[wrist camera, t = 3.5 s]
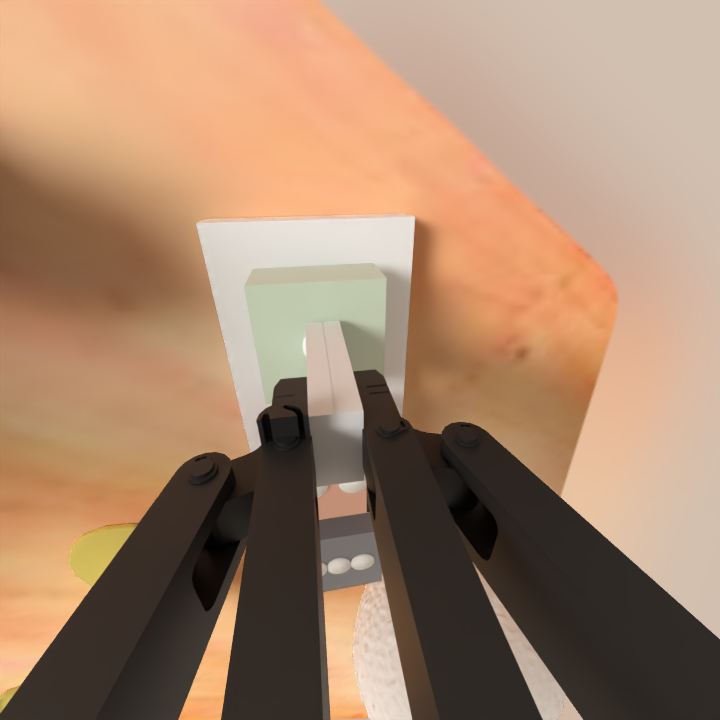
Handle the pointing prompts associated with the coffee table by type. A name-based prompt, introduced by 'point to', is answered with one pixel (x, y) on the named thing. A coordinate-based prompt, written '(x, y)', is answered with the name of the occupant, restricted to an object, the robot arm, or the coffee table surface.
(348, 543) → the tile charcoal
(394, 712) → the white rounded lump
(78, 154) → the coffee table surface
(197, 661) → the robot arm
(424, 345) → the coffee table surface
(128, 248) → the coffee table surface
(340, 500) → the tile terracotta
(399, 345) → the board
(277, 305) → the tile sage
